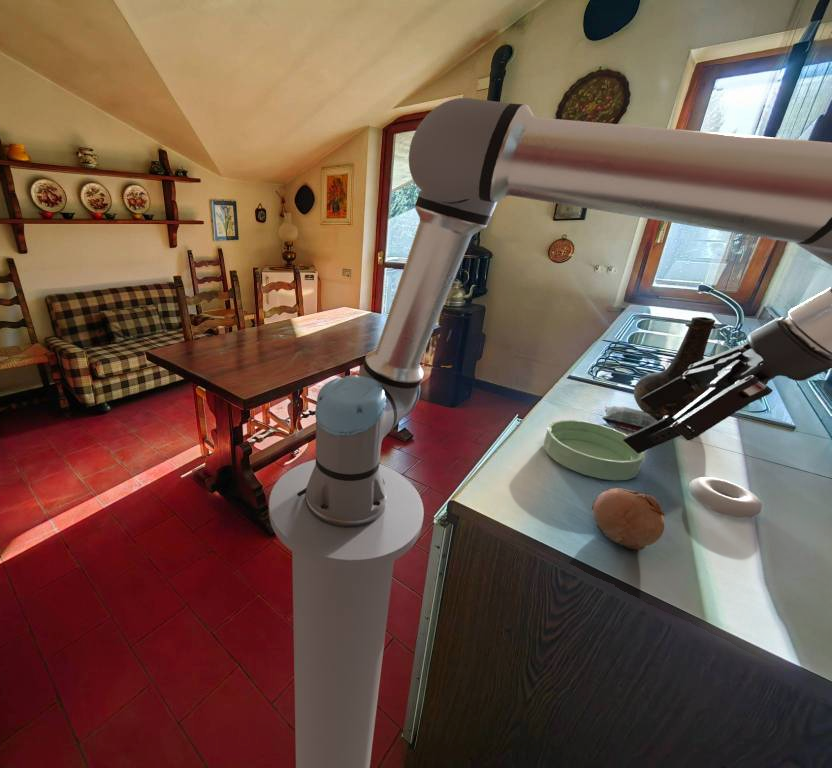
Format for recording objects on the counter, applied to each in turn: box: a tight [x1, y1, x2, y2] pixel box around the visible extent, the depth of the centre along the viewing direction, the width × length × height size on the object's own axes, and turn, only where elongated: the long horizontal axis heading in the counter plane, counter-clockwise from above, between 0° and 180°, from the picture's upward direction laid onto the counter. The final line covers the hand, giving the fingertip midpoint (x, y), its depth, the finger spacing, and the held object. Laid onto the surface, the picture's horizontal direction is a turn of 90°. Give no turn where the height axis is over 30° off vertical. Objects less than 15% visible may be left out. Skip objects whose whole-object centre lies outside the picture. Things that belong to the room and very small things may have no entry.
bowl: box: [543, 419, 646, 481], centre depth 88 cm, size 18×18×5 cm
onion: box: [591, 487, 666, 550], centre depth 65 cm, size 10×9×10 cm
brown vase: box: [633, 316, 718, 421], centre depth 103 cm, size 18×18×28 cm
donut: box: [688, 476, 762, 519], centre depth 74 cm, size 10×4×10 cm
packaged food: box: [602, 405, 658, 433], centre depth 102 cm, size 9×12×5 cm
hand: (639, 423), depth 62 cm, fingers open, 13 cm apart
